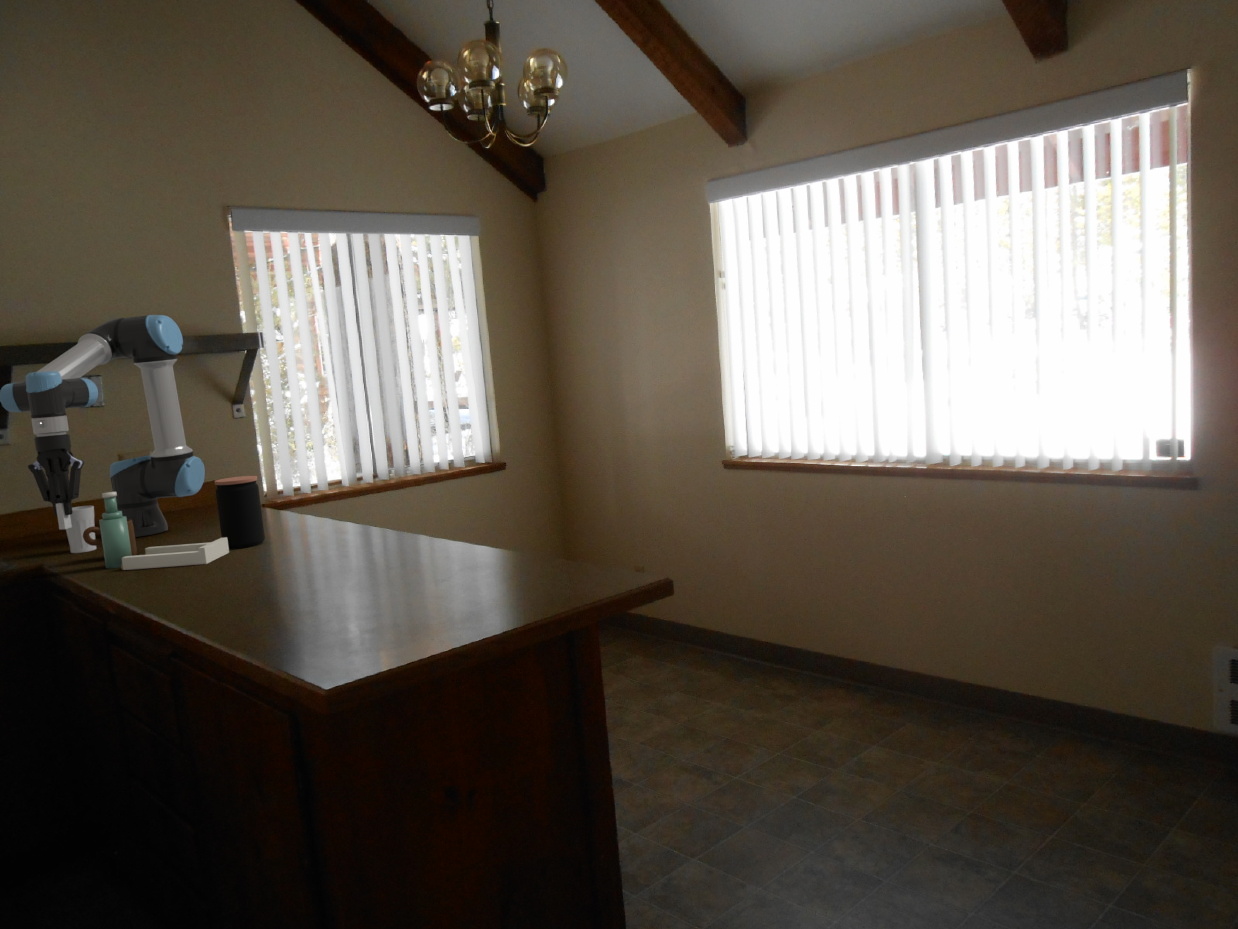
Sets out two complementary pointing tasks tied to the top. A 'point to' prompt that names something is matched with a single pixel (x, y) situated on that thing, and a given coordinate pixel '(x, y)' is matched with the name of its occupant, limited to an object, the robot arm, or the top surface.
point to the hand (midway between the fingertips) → (65, 528)
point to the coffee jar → (240, 511)
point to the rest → (177, 555)
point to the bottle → (114, 532)
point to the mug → (99, 542)
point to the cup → (80, 529)
